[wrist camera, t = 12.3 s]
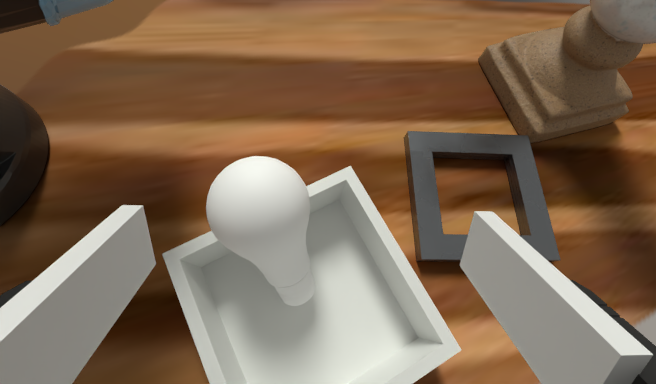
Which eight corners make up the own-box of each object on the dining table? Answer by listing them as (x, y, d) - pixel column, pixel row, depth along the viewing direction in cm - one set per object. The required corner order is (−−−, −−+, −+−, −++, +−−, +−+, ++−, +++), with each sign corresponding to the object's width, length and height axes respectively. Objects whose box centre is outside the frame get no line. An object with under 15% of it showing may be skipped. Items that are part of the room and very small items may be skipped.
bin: (189, 264, 24) (162, 253, 19) (342, 190, 27) (350, 165, 22) (262, 451, 20) (250, 494, 16) (429, 341, 23) (461, 350, 19)
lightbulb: (358, 304, 20) (304, 150, 16) (273, 355, 19) (185, 202, 14) (324, 258, 26) (275, 134, 21) (254, 295, 24) (186, 170, 20)
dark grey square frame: (416, 261, 25) (421, 259, 24) (403, 137, 29) (407, 131, 28) (549, 262, 26) (560, 260, 25) (519, 141, 30) (528, 135, 29)
